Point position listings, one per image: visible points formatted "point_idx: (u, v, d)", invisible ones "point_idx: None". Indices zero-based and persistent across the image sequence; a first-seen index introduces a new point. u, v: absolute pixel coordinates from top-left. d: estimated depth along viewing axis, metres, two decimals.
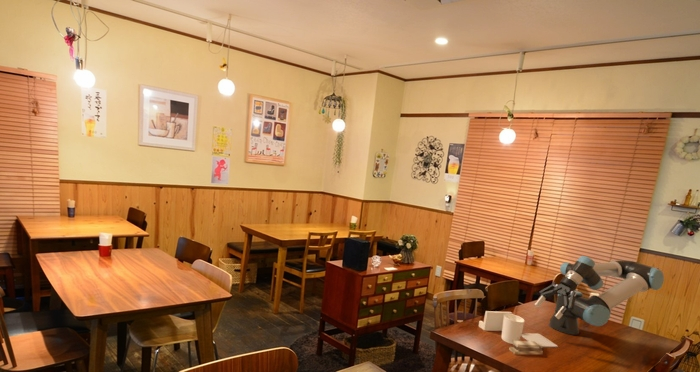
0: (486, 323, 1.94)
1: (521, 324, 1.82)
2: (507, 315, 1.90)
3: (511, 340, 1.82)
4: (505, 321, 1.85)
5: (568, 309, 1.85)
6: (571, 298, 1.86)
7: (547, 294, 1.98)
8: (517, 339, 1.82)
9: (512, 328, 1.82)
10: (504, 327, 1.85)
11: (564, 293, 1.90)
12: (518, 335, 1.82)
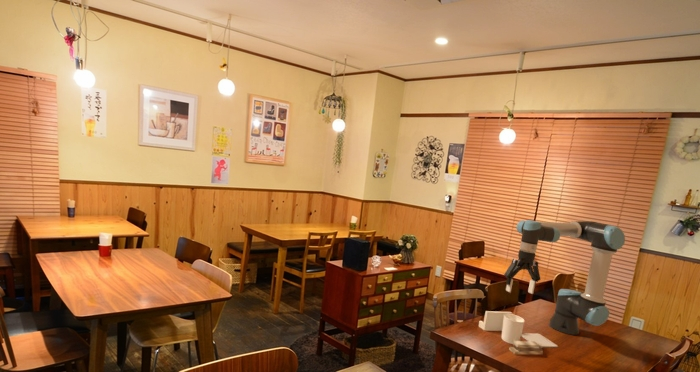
0: (486, 323, 1.94)
1: (521, 324, 1.82)
2: (507, 315, 1.90)
3: (511, 340, 1.82)
4: (505, 321, 1.85)
5: None
6: (537, 270, 1.85)
7: None
8: (517, 339, 1.82)
9: (512, 328, 1.82)
10: (504, 327, 1.85)
11: (531, 268, 1.84)
12: (518, 335, 1.82)
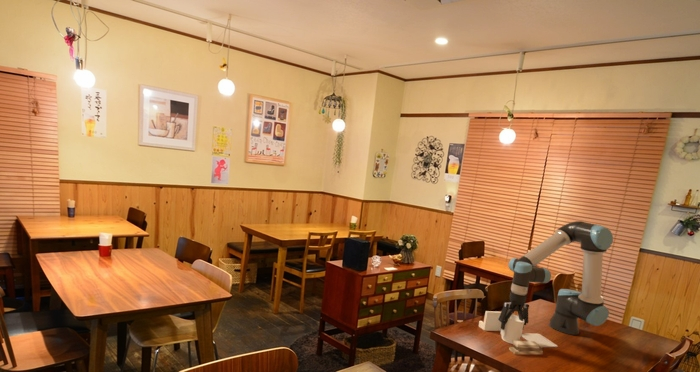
0: (486, 323, 1.94)
1: (521, 324, 1.82)
2: None
3: (511, 340, 1.82)
4: None
5: None
6: (527, 313, 1.86)
7: None
8: (517, 339, 1.82)
9: (512, 328, 1.82)
10: None
11: (522, 311, 1.85)
12: (518, 335, 1.82)
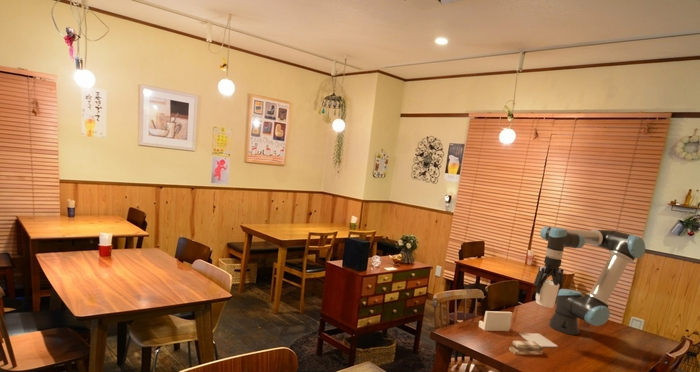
0: (486, 323, 1.94)
1: (557, 287, 1.85)
2: None
3: (547, 303, 1.86)
4: None
5: None
6: (561, 277, 1.90)
7: None
8: (552, 302, 1.86)
9: (548, 291, 1.86)
10: None
11: (556, 275, 1.88)
12: (553, 298, 1.86)
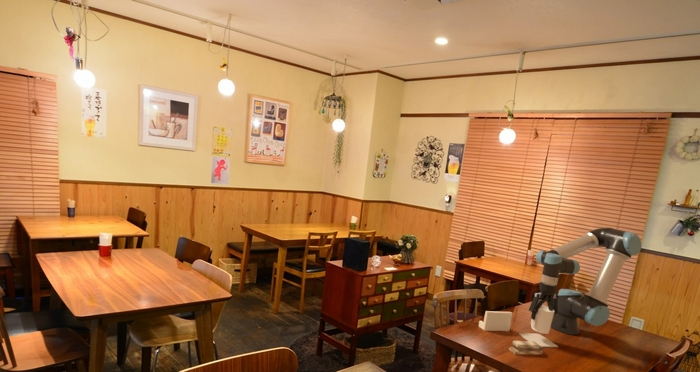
0: (486, 323, 1.94)
1: (551, 314, 1.86)
2: None
3: (541, 329, 1.87)
4: None
5: None
6: (556, 303, 1.91)
7: None
8: (547, 328, 1.87)
9: (543, 318, 1.86)
10: None
11: (551, 301, 1.89)
12: (548, 324, 1.87)
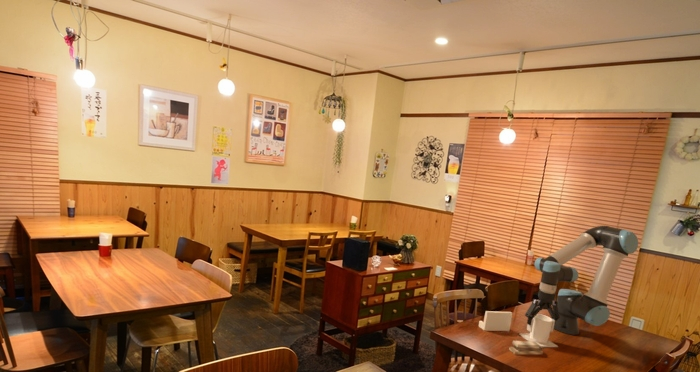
0: (486, 323, 1.94)
1: (550, 323, 1.87)
2: None
3: (540, 339, 1.87)
4: (534, 320, 1.90)
5: None
6: (557, 309, 1.91)
7: None
8: (546, 338, 1.87)
9: (541, 327, 1.87)
10: (533, 326, 1.90)
11: (551, 308, 1.90)
12: (547, 334, 1.87)
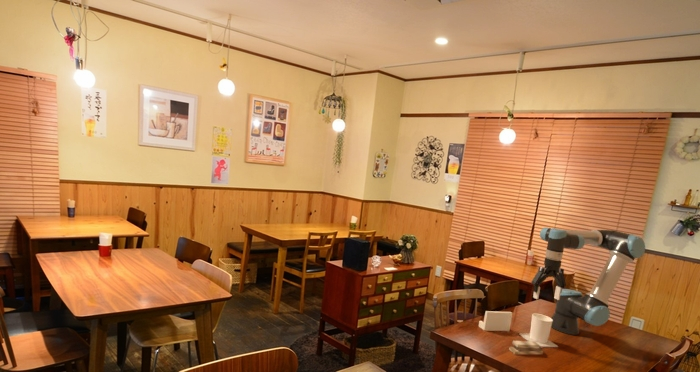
0: (486, 323, 1.94)
1: (550, 323, 1.87)
2: (535, 315, 1.95)
3: (540, 339, 1.87)
4: (534, 320, 1.90)
5: None
6: (563, 277, 1.90)
7: None
8: (546, 338, 1.87)
9: (541, 327, 1.87)
10: (533, 326, 1.90)
11: (557, 276, 1.88)
12: (547, 334, 1.87)
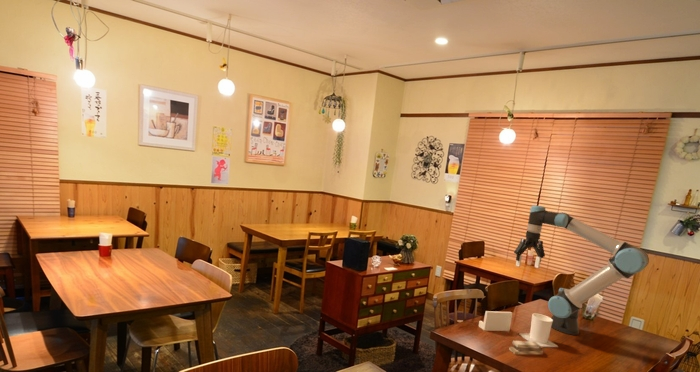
0: (486, 323, 1.94)
1: (550, 323, 1.87)
2: (535, 315, 1.95)
3: (540, 339, 1.87)
4: (534, 320, 1.90)
5: None
6: (542, 248, 2.17)
7: None
8: (546, 338, 1.87)
9: (541, 327, 1.87)
10: (533, 326, 1.90)
11: (537, 246, 2.15)
12: (547, 334, 1.87)
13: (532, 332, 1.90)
